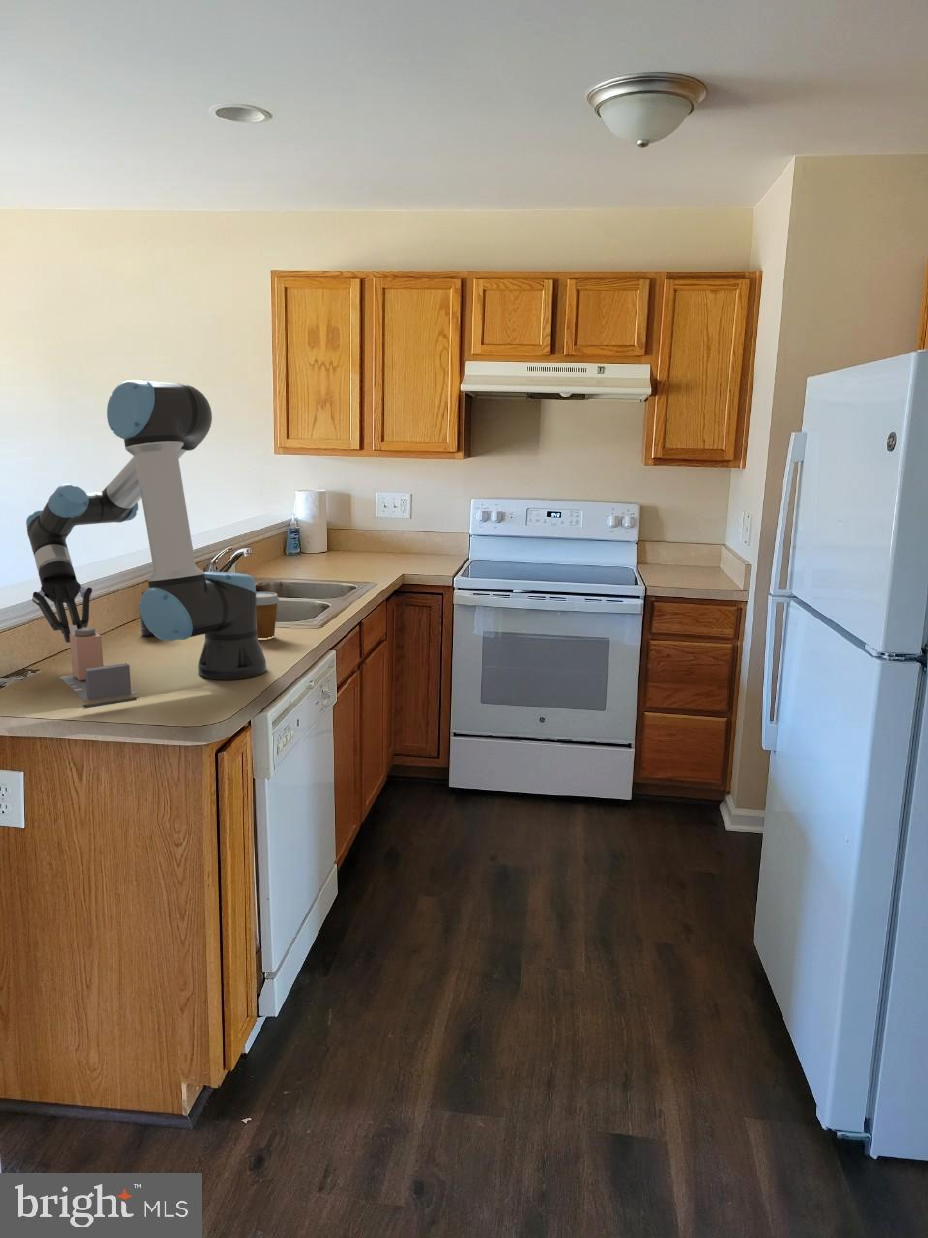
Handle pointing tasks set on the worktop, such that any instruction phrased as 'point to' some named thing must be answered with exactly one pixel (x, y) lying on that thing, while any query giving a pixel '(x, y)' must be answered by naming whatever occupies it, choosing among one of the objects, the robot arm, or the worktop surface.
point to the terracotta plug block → (85, 651)
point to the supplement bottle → (144, 626)
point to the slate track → (102, 684)
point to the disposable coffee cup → (266, 613)
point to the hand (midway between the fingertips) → (78, 652)
